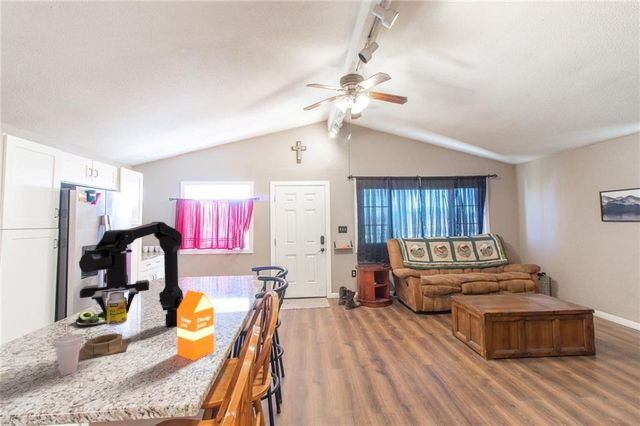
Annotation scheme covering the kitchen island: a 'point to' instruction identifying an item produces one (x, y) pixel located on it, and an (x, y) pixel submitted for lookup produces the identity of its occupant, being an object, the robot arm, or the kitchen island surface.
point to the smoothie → (68, 352)
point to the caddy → (103, 346)
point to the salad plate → (90, 319)
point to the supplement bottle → (116, 309)
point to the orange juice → (195, 326)
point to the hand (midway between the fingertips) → (117, 314)
